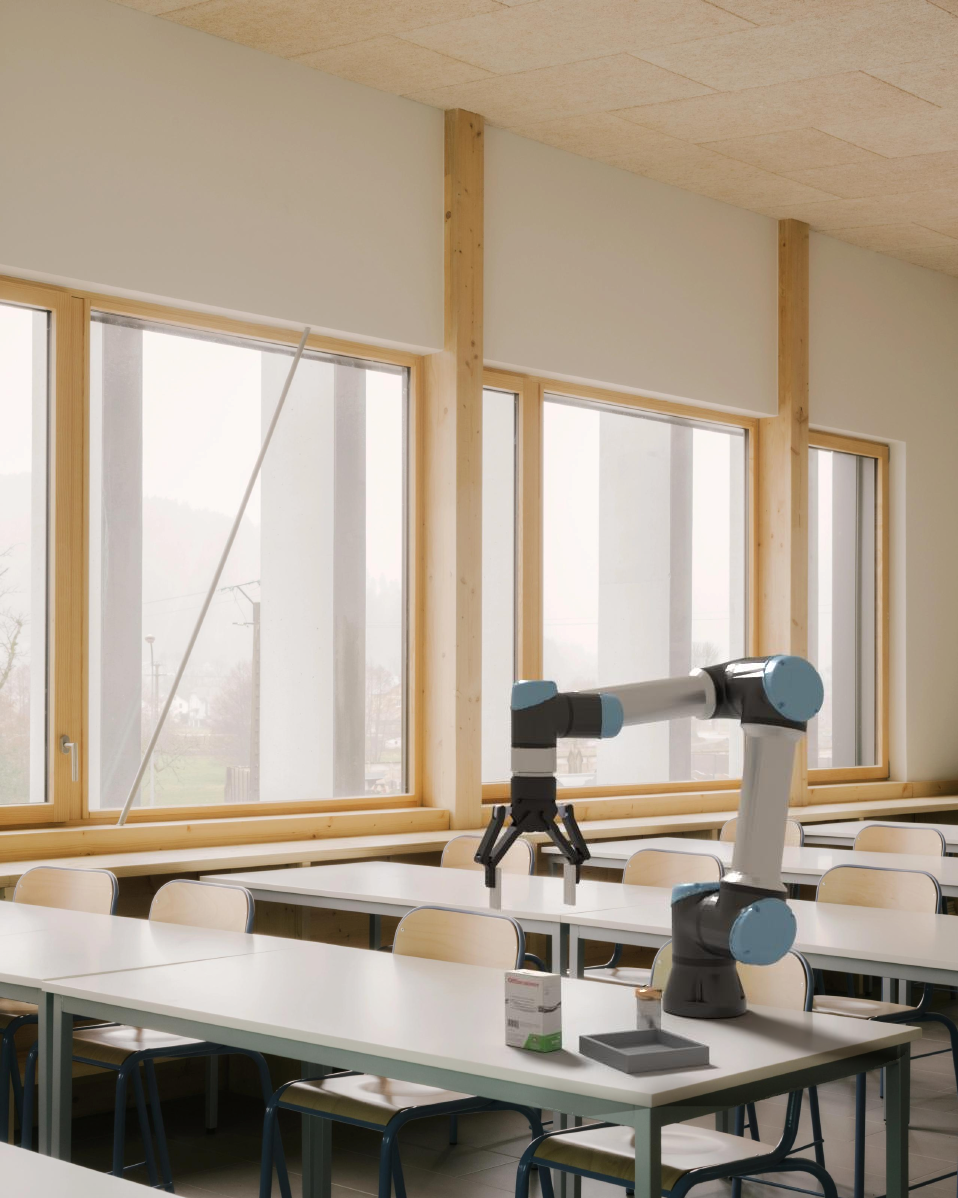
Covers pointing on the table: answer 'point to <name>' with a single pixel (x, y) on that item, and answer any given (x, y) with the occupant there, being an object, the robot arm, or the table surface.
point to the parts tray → (643, 1050)
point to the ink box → (533, 1010)
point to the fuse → (648, 1007)
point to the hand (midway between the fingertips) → (532, 907)
